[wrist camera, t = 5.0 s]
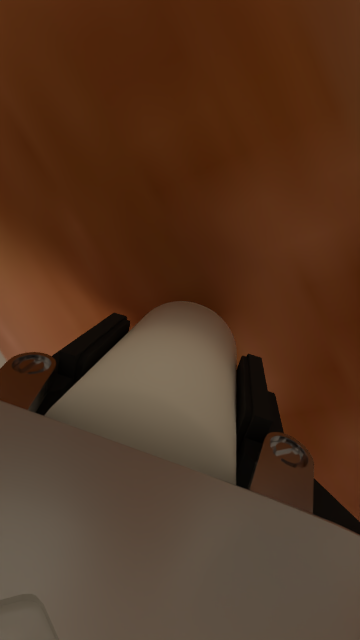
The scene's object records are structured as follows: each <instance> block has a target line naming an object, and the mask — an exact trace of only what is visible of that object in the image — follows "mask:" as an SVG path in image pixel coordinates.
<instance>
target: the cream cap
mask: <svg viewBox="0 0 360 640" xmlns="http://www.w3.org/2000/svg"><path fill="white" fill-rule="evenodd" d="M236 366H237V354H236V343H235V340H234V336H233V334H232V332H231V330H230V328H229V327H228V325H227V324H226V323H225V321H224V320H223V319H222V318H221V317H220V316H219V315H218V314H216V313H215V312H214V311H212V310H211V309H209V308H207V307H205V306H203V305H200V304H197V303H193V302H187V301H174V302H168V303H165V304H162V305H160V306H158V307H156V308H154V309H153V310H151V311H150V312H149V313H148V314H147V315H145V316H144V317H143V318H142V319H141V320H140V321H139V322H138V323H137V324H136V325H135V326H134V327H133V328H132V329H131V330H130V331H129V332H128V333H127V334H126V335H125V336H124V337H123V338H122V339H121V340H120V341H119V342H118V343H117V344H116V345H115V346H114V347H113V348H112V349H111V350H110V351H108V352H107V353H106V354H105V355H104V356H103V357H102V358H101V359H100V360H99V361H98V362H97V363H96V364H95V365H94V366H93V367H92V368H91V369H90V370H89V371H88V372H87V373H86V374H85V375H84V376H83V377H82V378H81V379H80V380H79V381H78V382H77V383H76V384H75V385H74V386H73V387H71V388H70V389H69V390H68V391H67V392H66V393H65V394H64V395H63V396H62V397H61V398H60V399H59V400H58V401H57V402H56V403H55V404H54V405H53V406H52V407H51V408H50V409H49V410H48V412H47V413H46V414H45V415H44V416H46V417H49V418H51V419H54V420H57V421H60V422H62V423H65V424H68V425H71V426H73V427H76V428H79V429H82V430H85V431H87V432H90V433H93V434H96V435H98V436H101V437H104V438H107V439H110V440H112V441H115V442H118V443H121V444H123V445H126V446H129V447H132V448H135V449H137V450H140V451H143V452H146V453H148V454H151V455H154V456H157V457H160V458H162V459H165V460H168V461H171V462H173V463H176V464H179V465H182V466H185V467H187V468H190V469H193V470H196V471H198V472H201V473H204V474H207V475H209V476H212V477H215V478H218V479H220V480H223V481H226V482H229V483H231V484H234V485H236Z"/></svg>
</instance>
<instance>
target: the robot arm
mask: <svg viewBox="0 0 360 640" xmlns="http://www.w3.org/2000/svg"><path fill="white" fill-rule="evenodd" d="M129 327H130V321H129V320H127V317H126V316H124V315H120V314H117V313H113V314H111V315H110V316H108V317H107V318H106V319H104V320H103V321H101V322H100V323H98V324H97V325H96V326H94V327H93V328H91V329H90V330H89V331H87V332H86V333H84V334H83V335H81V336H80V337H78V338H77V339H75V340H74V341H73V342H71V343H70V344H68V345H67V346H65V347H64V348H63V349H61V350H60V351H58V352H57V353H56V354H54V355H53V356H50V355H48V354H44V353H38V352H29V353H23V354H19V355H16V356H14V357H12V358H11V359H10V360H8V361H7V362H6V363H5V364H4V366H2V368H0V640H360V522H359V521H358V520H357V519H356V518H355V517H354V516H353V515H352V514H351V513H350V512H349V511H347V510H346V509H345V508H344V507H343V506H342V505H341V504H340V503H339V502H338V501H337V500H336V499H335V498H334V497H333V496H332V495H331V494H330V493H329V492H328V491H327V490H326V489H325V488H324V487H323V486H322V485H320V484H319V483H318V482H317V481H316V480H315V479H314V462H313V458H312V456H311V454H310V452H309V451H308V450H307V449H306V447H305V446H304V445H303V444H301V443H300V442H299V441H298V440H296V439H295V438H293V437H292V436H289V435H287V434H285V433H284V432H283V428H282V423H281V419H280V414H279V410H278V405H277V401H276V397H275V394H274V393H272V392H269V391H268V390H267V385H266V380H265V374H264V369H263V363H262V358H260V357H257V356H254V355H251V354H248V355H247V357H246V356H242V357H241V360H240V362H239V365H238V368H237V370H236V485H234V484H231V483H229V482H226V481H223V480H220V479H218V478H215V477H212V476H209V475H207V474H204V473H201V472H198V471H196V470H193V469H190V468H187V467H185V466H182V465H179V464H176V463H173V462H171V461H168V460H165V459H162V458H160V457H157V456H154V455H151V454H148V453H146V452H143V451H140V450H137V449H135V448H132V447H129V446H126V445H123V444H121V443H118V442H115V441H112V440H110V439H107V438H104V437H101V436H98V435H96V434H93V433H90V432H87V431H85V430H82V429H79V428H76V427H73V426H71V425H68V424H65V423H62V422H60V421H57V420H54V419H51V418H49V417H46V416H44V415H45V414H46V413H47V412H48V410H49V409H50V408H51V407H52V406H53V405H54V404H55V403H56V402H57V401H58V400H59V399H60V398H61V397H62V396H63V395H64V394H65V393H66V392H67V391H68V390H69V389H70V388H71V387H73V386H74V385H75V384H76V383H77V382H78V381H79V380H80V379H81V378H82V377H83V376H84V375H85V374H86V373H87V372H88V371H89V370H90V369H91V368H92V367H93V366H94V365H95V364H96V363H97V362H98V361H99V360H100V359H101V358H102V357H103V356H104V355H105V354H106V353H107V352H108V351H110V350H111V349H112V348H113V347H114V346H115V345H116V344H117V343H118V342H119V341H120V340H121V339H122V338H123V337H124V336H125V335H126V334H127V333H128V332H129Z"/></svg>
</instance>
